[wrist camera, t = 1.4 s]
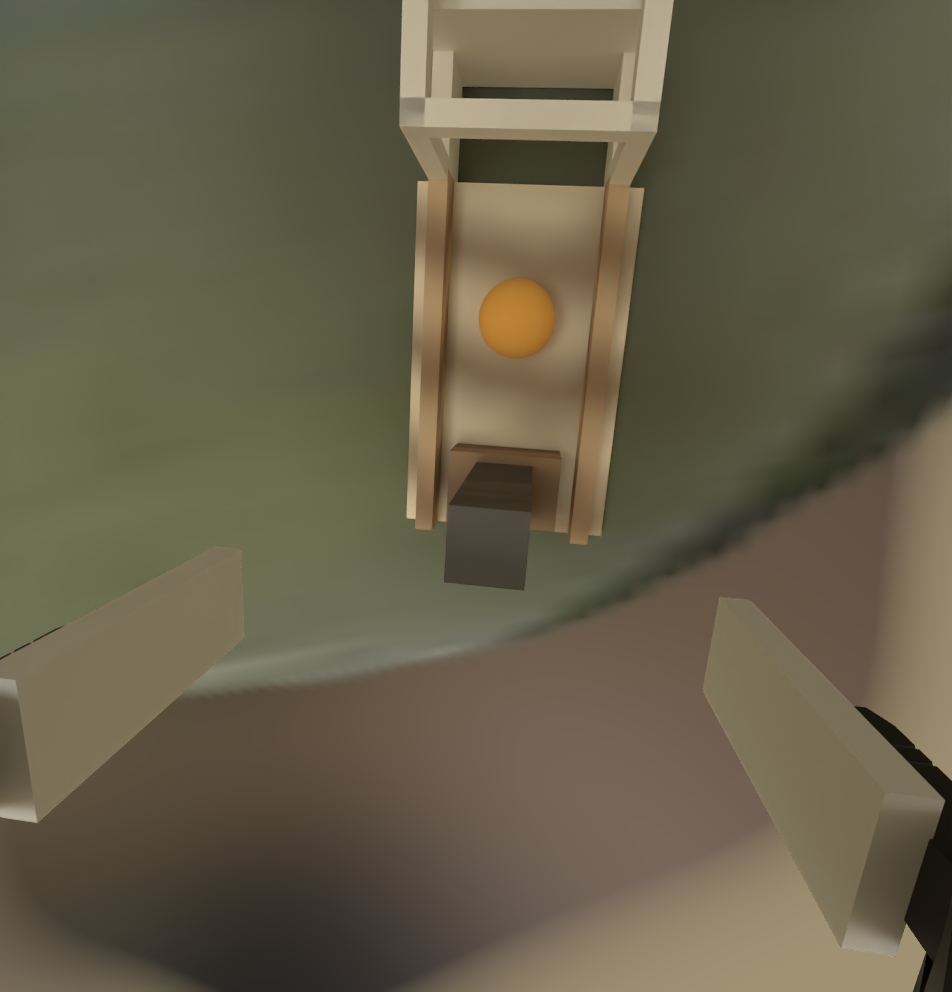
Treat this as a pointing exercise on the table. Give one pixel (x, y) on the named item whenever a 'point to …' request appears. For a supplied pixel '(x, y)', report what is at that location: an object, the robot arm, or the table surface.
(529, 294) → the ball
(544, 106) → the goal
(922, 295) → the table surface
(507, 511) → the sled
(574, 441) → the tray
